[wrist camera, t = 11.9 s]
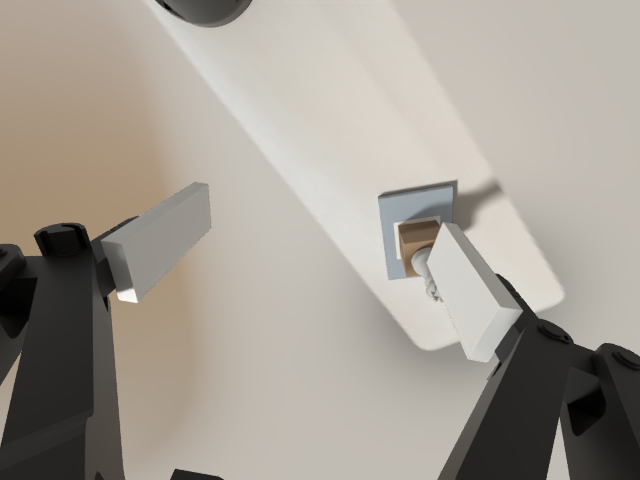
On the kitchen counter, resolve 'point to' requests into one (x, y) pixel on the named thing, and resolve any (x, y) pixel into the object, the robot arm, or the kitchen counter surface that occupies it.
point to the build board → (411, 219)
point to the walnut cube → (416, 241)
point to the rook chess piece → (426, 272)
